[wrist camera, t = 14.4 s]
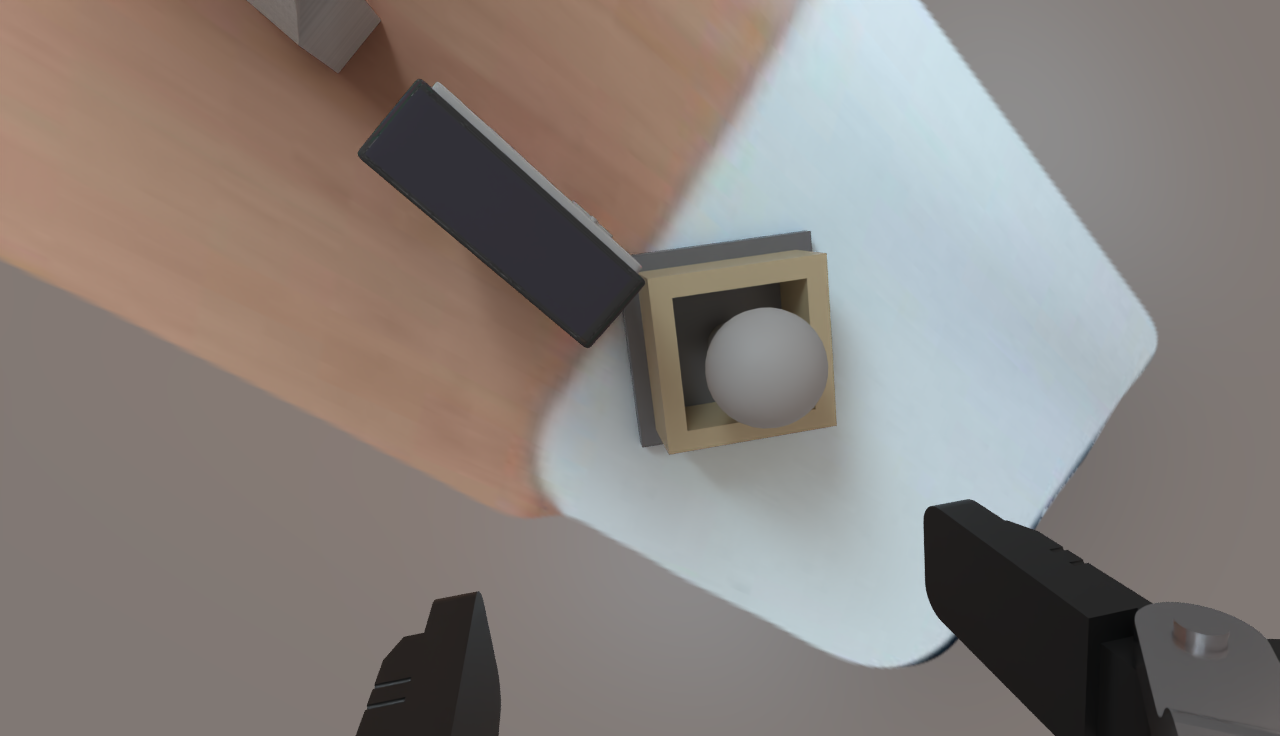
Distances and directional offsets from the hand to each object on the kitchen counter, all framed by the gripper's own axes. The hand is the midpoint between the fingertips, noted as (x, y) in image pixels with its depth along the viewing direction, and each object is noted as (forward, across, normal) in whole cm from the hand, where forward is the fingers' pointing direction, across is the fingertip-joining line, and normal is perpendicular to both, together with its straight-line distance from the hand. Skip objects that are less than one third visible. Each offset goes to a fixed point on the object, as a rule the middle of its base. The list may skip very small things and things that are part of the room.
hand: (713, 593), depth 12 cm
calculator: (+30, +3, -7) cm, 31 cm away
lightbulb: (+29, -8, +2) cm, 30 cm away
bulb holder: (+30, -8, +2) cm, 31 cm away
